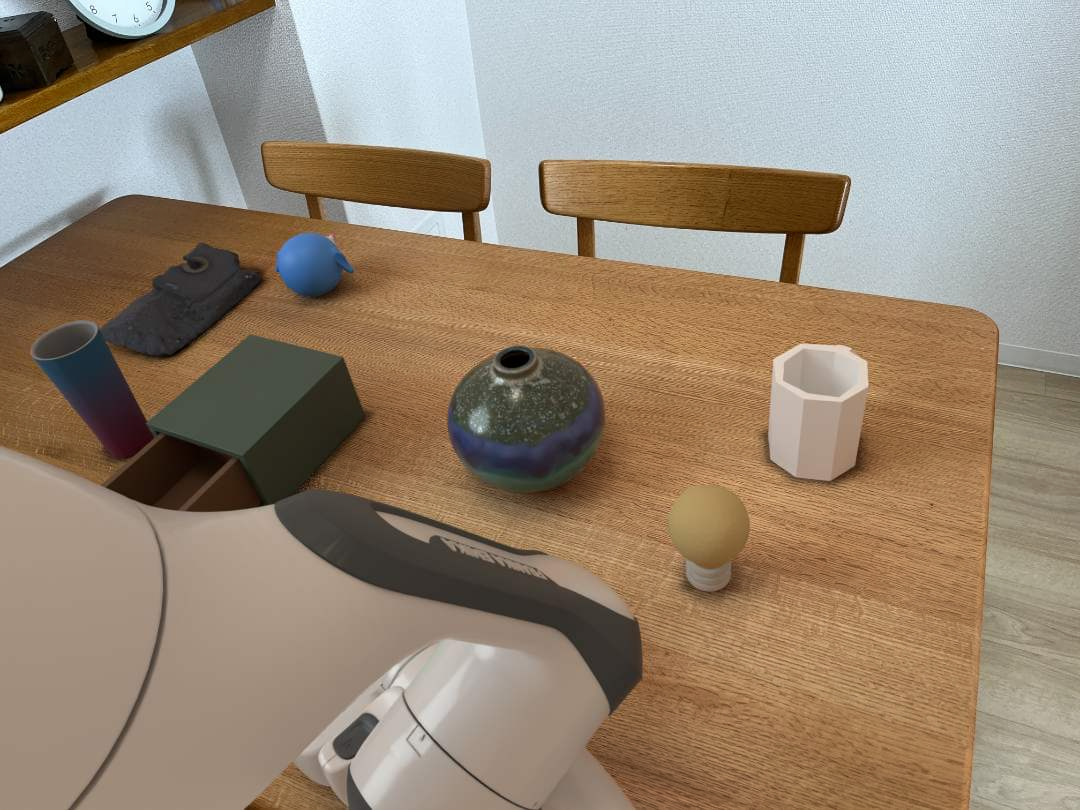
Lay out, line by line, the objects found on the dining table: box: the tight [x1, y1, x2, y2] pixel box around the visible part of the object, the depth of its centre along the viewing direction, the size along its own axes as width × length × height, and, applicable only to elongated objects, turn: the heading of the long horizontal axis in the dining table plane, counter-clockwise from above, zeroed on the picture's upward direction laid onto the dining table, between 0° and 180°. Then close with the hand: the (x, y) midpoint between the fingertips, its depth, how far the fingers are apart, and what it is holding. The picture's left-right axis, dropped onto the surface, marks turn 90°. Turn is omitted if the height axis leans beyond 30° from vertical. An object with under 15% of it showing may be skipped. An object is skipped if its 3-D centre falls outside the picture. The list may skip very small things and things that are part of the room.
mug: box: [767, 343, 869, 482], centre depth 76 cm, size 12×9×10 cm
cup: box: [29, 319, 154, 459], centre depth 89 cm, size 7×7×15 cm
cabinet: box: [146, 333, 366, 507], centre depth 86 cm, size 16×14×9 cm
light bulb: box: [667, 484, 751, 593], centre depth 66 cm, size 6×6×10 cm
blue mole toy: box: [274, 232, 355, 298], centre depth 112 cm, size 12×12×8 cm
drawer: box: [99, 433, 263, 512], centre depth 79 cm, size 16×12×7 cm
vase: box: [446, 344, 607, 494], centre depth 78 cm, size 15×15×13 cm
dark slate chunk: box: [99, 242, 261, 357], centre depth 113 cm, size 15×22×5 cm
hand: (341, 591), depth 64 cm, fingers open, 7 cm apart
